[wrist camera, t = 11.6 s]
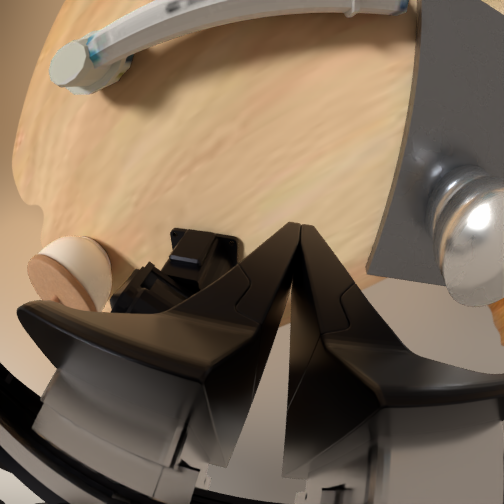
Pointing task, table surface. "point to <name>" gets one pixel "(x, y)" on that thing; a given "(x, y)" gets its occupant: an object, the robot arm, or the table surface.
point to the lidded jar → (72, 273)
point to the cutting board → (443, 131)
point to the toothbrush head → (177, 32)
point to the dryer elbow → (472, 242)
